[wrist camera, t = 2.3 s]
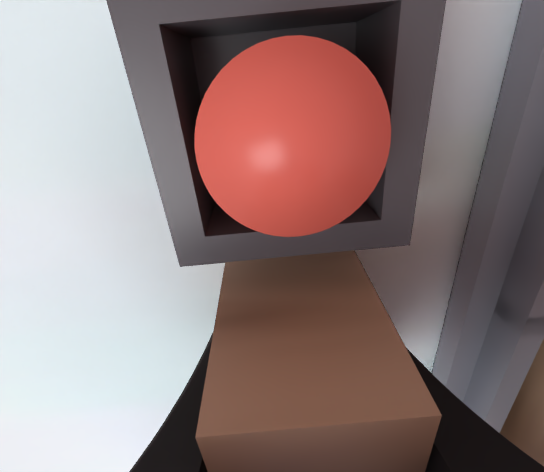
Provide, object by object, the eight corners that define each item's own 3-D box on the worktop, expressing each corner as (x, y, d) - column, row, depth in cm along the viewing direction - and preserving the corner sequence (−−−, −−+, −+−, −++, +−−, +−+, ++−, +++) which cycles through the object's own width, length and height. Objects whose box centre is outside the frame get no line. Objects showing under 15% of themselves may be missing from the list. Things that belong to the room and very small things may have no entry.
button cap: (347, 184, 8) (382, 228, 5) (226, 196, 8) (213, 244, 5) (351, 40, 6) (402, 23, 4) (202, 54, 6) (173, 46, 4)
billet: (342, 360, 13) (400, 556, 8) (249, 368, 13) (243, 570, 8) (347, 237, 10) (442, 415, 5) (227, 248, 10) (195, 437, 5)
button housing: (367, 196, 10) (409, 244, 7) (201, 212, 10) (179, 266, 7) (382, -15, 7) (455, -65, 4) (157, 7, 7) (99, -29, 4)
